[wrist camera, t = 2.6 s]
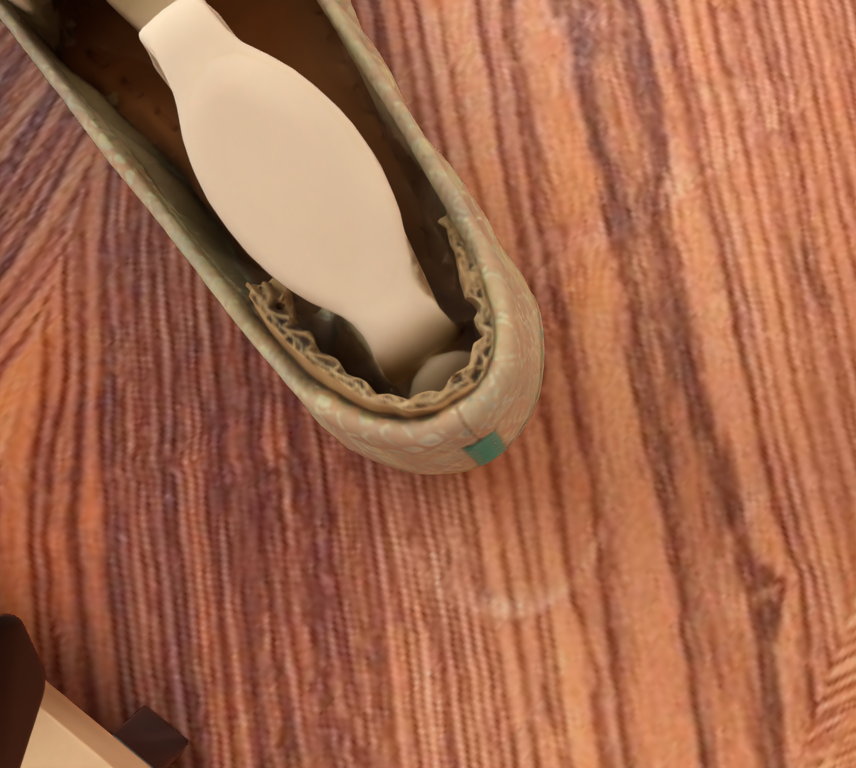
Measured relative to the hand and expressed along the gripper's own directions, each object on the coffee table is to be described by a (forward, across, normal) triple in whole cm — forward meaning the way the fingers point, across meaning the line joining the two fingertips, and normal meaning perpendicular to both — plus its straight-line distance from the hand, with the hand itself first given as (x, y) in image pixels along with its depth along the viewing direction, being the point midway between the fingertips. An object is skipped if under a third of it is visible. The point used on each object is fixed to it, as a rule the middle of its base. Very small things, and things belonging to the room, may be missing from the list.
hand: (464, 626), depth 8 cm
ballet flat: (+18, +6, -3) cm, 19 cm away
